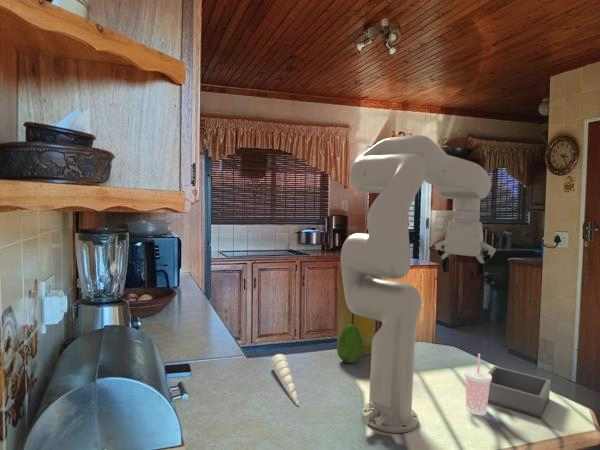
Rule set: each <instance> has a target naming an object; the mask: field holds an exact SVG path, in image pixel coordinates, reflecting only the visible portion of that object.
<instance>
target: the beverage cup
mask: <svg viewBox="0 0 600 450" xmlns="http://www.w3.org/2000/svg"><path fill="white" fill-rule="evenodd" d="M480 365H481V352H480V353H477V365H476V366H477V368H476V369H474V368H469V369H466V370H464V377H465V410H466V411H467V412H468V413H470V414H472V415H477V416H485V415H486V414H487V410H488V404H489V403H488V396H489V388H490V382H491V379H492V376H491V375H490V374H489V373H488V372H487V371H484V370H482V369H480V368H481V367H480Z"/></svg>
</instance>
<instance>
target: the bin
mask: <svg viewBox="0 0 600 450" xmlns="http://www.w3.org/2000/svg"><path fill="white" fill-rule="evenodd" d="M487 373H489V374H490V375H491V376H492V379H491V382H490V388H489V396H488V403H487V404H491V405H494V406H497V407H501V408H502V409H503V408H504V409H507V410H510V411H513V412H515V413H516V412H517V413H519V414H522V415H526V416H529V417H533V418H536V419H539V420H542V418H543V414H544V412H545V410H546V407H547V405H548V403H549V400H550V394H551V392H550V390H551V379H547V378H543V377H540V376H537V375H536V376H535V375H532V374H528V373H524V372H521V371H516V370H512V369H507V368H504V367H500V366H497V365H494V366H493V367H492V368H490V370H489V371H488V372H487Z"/></svg>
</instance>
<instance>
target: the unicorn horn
mask: <svg viewBox="0 0 600 450" xmlns="http://www.w3.org/2000/svg"><path fill="white" fill-rule="evenodd" d="M270 366H271V368H272V370H273V371H274V373H275V374H276V377H277V378H278V380H279V381H280V383H281V385H282V387H283V388H284V389H285V392H286V393H287V394H288V396H289V398H290V399H291V400H292V401H293V403H294V404H295V405H296V406H297V407H299V406H300V403H299V397H298V393H297V390H296V385H295V383H294V379H293V376H292V372H291V368H290V365H289V362H288V359H287V357H286V355H284V354H282V353H277V354H275V355H274V356H273V357H272V358H271V359H270Z"/></svg>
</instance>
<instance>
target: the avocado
mask: <svg viewBox="0 0 600 450" xmlns="http://www.w3.org/2000/svg"><path fill="white" fill-rule="evenodd" d="M336 344H337V345H336V352H337V355H338V357H339V358H340V360H341V361H342V362H343V363H346V364H353V363H355V362H358V360H359V359H360V357H361V356H362V355H361V353H362V350H363V344H362V339H361V336H360V333H359V330H358V329H357V327H356V326H354V325H352V324H348V325H346V326H345V327H344V329H343V331H342V333H341V334H340V337H339V339H338V342H337V341H336Z"/></svg>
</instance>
